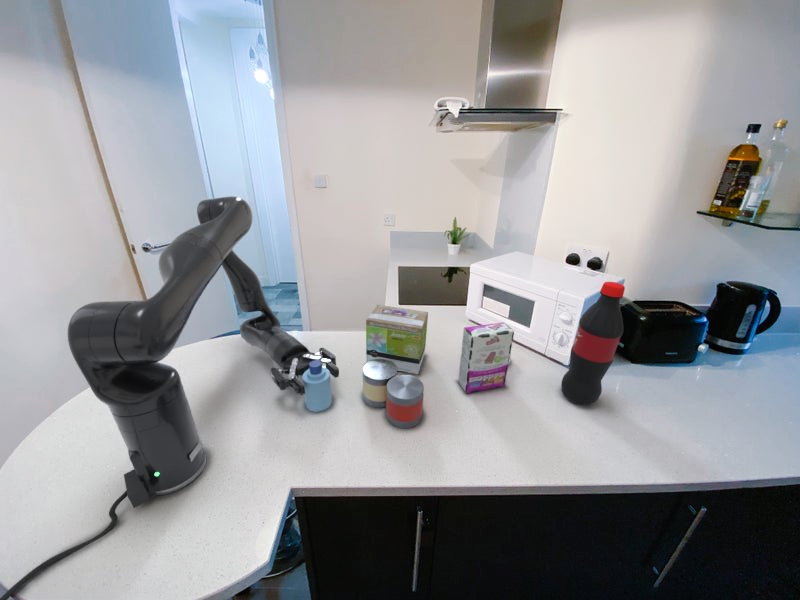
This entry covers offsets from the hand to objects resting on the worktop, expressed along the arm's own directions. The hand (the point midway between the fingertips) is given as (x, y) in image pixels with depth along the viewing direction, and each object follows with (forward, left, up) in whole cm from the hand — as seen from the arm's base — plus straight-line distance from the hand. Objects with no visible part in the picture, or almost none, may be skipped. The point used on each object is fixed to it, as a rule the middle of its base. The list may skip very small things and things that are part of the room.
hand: (321, 382), depth 70 cm
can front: (+12, -14, -7) cm, 20 cm away
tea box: (+25, +2, -7) cm, 26 cm away
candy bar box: (+34, -20, -7) cm, 40 cm away
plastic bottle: (0, +2, -7) cm, 7 cm away
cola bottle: (+48, -39, -7) cm, 62 cm away
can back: (+12, -6, -7) cm, 15 cm away
